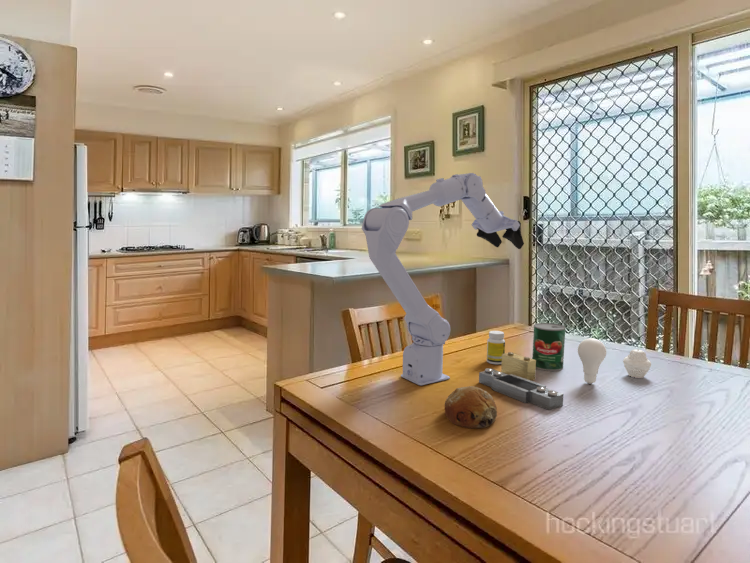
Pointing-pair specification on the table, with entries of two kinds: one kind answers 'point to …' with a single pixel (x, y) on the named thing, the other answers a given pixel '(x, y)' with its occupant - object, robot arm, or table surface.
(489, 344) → the supplement bottle
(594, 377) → the lightbulb
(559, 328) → the canned tomato
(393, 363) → the table surface
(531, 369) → the link
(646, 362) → the muffin
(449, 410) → the bread roll
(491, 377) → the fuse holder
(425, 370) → the robot arm
